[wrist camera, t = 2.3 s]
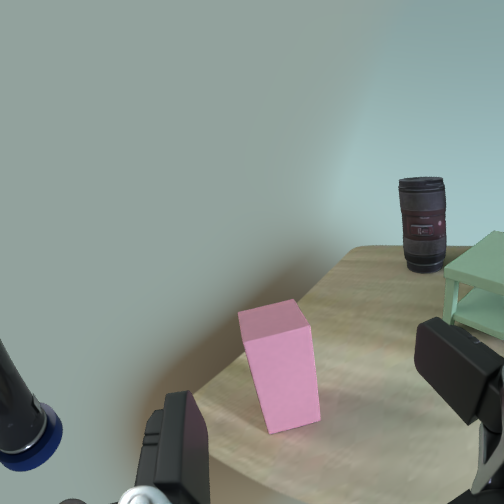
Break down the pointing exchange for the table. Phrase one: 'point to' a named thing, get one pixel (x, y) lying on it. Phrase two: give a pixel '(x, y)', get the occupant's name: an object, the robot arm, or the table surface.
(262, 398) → the pink box
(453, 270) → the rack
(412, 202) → the camera lens
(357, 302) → the table surface
